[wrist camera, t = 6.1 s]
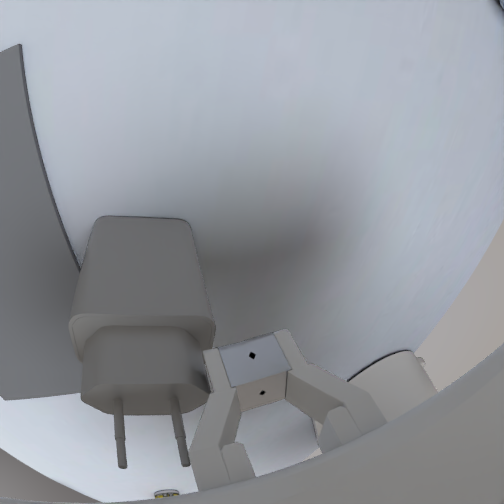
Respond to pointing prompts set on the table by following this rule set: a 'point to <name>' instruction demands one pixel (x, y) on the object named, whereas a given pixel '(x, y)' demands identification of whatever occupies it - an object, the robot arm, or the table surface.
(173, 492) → the supplement bottle
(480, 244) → the table surface
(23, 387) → the desk mat
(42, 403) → the table surface
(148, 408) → the power adapter
